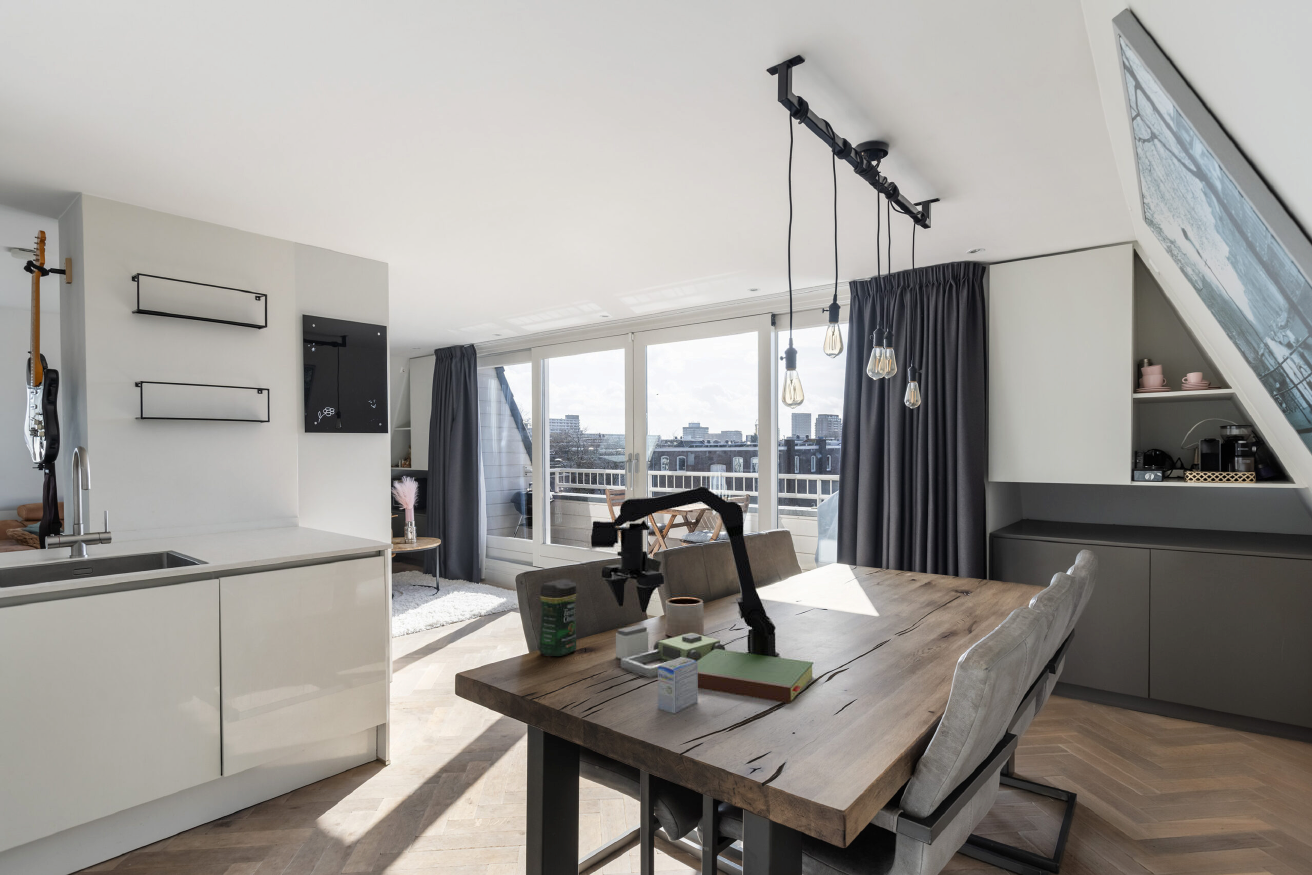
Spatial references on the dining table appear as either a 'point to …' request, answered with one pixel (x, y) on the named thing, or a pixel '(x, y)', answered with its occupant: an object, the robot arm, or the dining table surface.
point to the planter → (684, 616)
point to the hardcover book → (753, 675)
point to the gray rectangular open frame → (636, 664)
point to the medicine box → (677, 684)
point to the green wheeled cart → (687, 646)
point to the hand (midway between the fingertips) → (632, 608)
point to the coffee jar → (558, 618)
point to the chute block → (631, 641)
